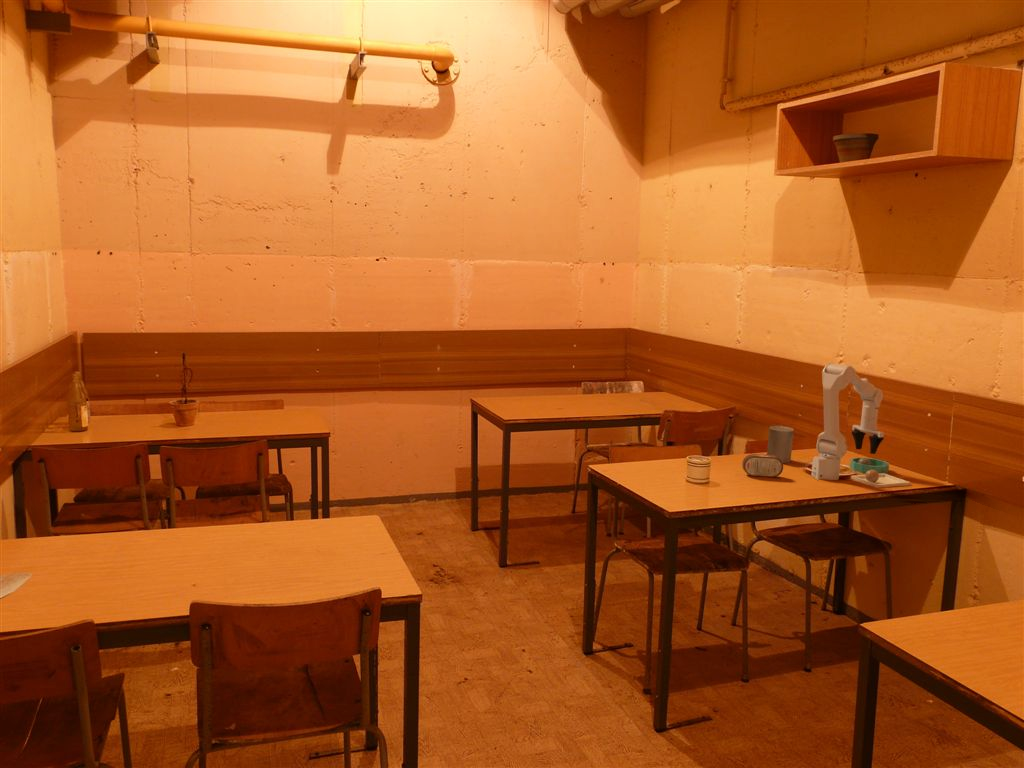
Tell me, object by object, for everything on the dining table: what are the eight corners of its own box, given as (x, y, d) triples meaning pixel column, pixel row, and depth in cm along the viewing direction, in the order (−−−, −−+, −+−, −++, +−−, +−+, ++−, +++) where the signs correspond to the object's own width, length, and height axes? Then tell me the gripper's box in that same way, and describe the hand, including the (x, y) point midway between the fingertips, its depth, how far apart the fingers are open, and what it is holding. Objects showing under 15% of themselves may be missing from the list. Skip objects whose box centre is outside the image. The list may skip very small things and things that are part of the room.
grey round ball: (861, 470, 324) (861, 458, 324) (855, 468, 329) (855, 456, 329) (873, 470, 325) (873, 458, 324) (867, 468, 329) (867, 456, 329)
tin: (781, 476, 316) (783, 455, 315) (783, 478, 313) (785, 457, 311) (741, 474, 317) (742, 452, 316) (742, 476, 314) (744, 454, 313)
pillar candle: (762, 457, 345) (765, 422, 343) (783, 457, 347) (786, 422, 345) (773, 463, 336) (776, 427, 333) (795, 463, 338) (798, 427, 335)
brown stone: (868, 483, 306) (869, 471, 306) (862, 480, 311) (863, 468, 310) (880, 484, 307) (882, 471, 306) (874, 480, 311) (875, 468, 311)
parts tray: (876, 489, 302) (877, 485, 301) (850, 480, 314) (851, 475, 313) (910, 487, 307) (910, 482, 307) (883, 477, 319) (884, 473, 319)
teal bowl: (859, 476, 321) (860, 466, 320) (843, 466, 335) (844, 457, 334) (894, 476, 321) (895, 466, 321) (877, 467, 335) (878, 458, 335)
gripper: (891, 421, 318) (887, 455, 320) (863, 413, 332) (860, 446, 334) (877, 421, 316) (873, 456, 318) (849, 414, 329) (846, 447, 331)
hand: (865, 451), depth 326 cm, fingers open, 7 cm apart
